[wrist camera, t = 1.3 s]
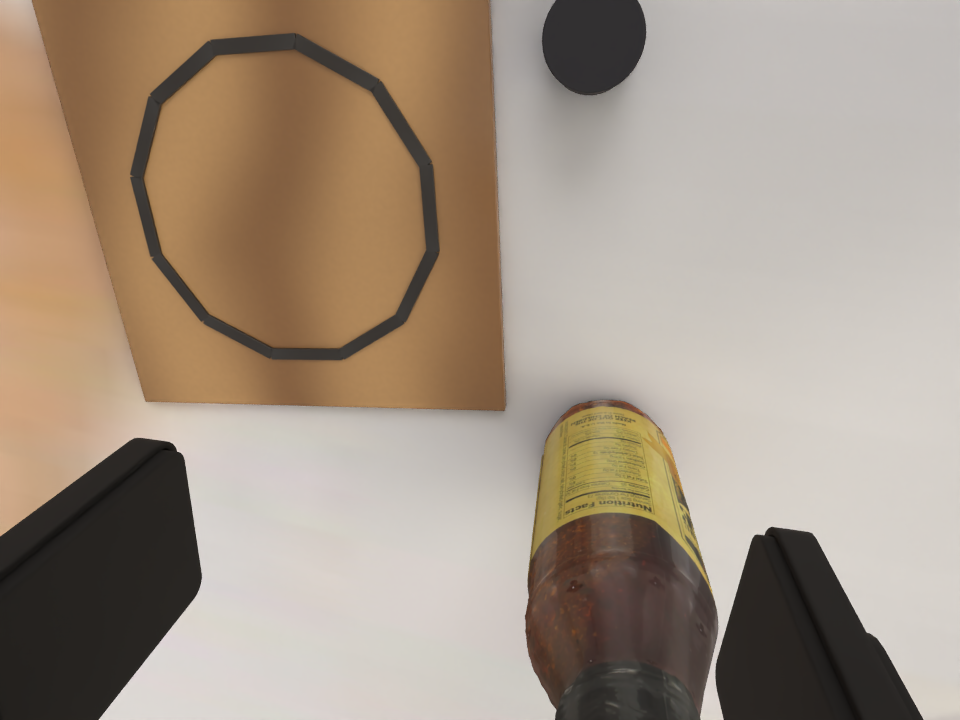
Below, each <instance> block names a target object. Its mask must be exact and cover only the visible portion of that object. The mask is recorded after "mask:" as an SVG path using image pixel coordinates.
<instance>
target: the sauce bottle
mask: <svg viewBox="0 0 960 720" xmlns="http://www.w3.org/2000/svg"><path fill="white" fill-rule="evenodd" d="M528 593H529V599H528V605H527V611H526V615H525V620H526V630H525V632H526V639H527V647H528V653H529V657H530V659H531V663H532V667H533V669H534V672H535V673H536V675H537V676H538V678H539V680H540V683H541V685H542V686H543V688H544V689H545V691H546V692H547V694H548V697H549V699H550V701H551V703H552V704H553V706H554V707H555V708H556V710H557V711H556V716H555V720H700V714H701V708H702V702H703V695H704V690H705V686H706V682H707V678H708V673H709V669H710V665H711V661H712V657H713V652H714V648H715V644H716V640H717V634H718V616H717V609H716V605H715V601H714V598H713V594H712V589H711V586H710V583H709V579H708V576H707V573H706V570H705V566H704V563H703V559H702V556H701V553H700V549H699V546H698V542H697V539H696V536H695V532H694V528H693V524H692V521H691V519H690V513H689V509H688V506H687V503H686V500H685V497H684V493H683V490H682V486H681V482H680V479H679V475H678V472H677V468H676V465H675V461H674V458H673V454H672V451H671V448H670V446H669V444H668V442H667V440H666V438H665V437H664V435H663V432H662V431H661V429H660V428H659V427H657V425H656V424H655V423H654V422H653V421H652V420H651V419H650V418H649V417H648V415H646V414H645V413H643V412H642V411H640V410H639V409H637V408H636V407H634V406H633V405H631V404H628V403H626V402H623V401H613V400H598V401H588V402H587V403H581V404H578V405H575V406H573V407H572V408H570V409H569V410H568V411H567V412H566V413H565V414H564V415H562V416H561V417H560V419H559V420H558V422H557V423H556V424H555V426H554V427H553V429H552V430H551V433H550V434H549V435H548V437H547V439H546V443H545V448H544V454H543V455H542V460H541V468H540V475H539V483H538V492H537V501H536V509H535V519H534V527H533V536H532V545H531V554H530V562H529V571H528Z"/></svg>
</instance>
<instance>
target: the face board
mask: <svg viewBox="0 0 960 720" xmlns="http://www.w3.org/2000/svg"><path fill="white" fill-rule="evenodd" d="M32 3H33V7H34V10H35V14H36V17H37V21H38V24H39V28H40V31H41V35H42V38H43V42H44V46H45V49H46V53H47V56H48V60H49V63H50V67H51V70H52V74H53V77H54V81H55V84H56V88H57V91H58V95H59V98H60V102H61V105H62V109H63V112H64V116H65V120H66V123H67V127H68V130H69V134H70V137H71V141H72V144H73V148H74V151H75V155H76V158H77V162H78V165H79V169H80V172H81V176H82V179H83V183H84V186H85V190H86V193H87V197H88V201H89V204H90V208H91V211H92V215H93V218H94V222H95V225H96V229H97V232H98V236H99V239H100V243H101V246H102V250H103V253H104V257H105V260H106V264H107V267H108V271H109V275H110V278H111V282H112V285H113V289H114V292H115V296H116V299H117V303H118V306H119V310H120V313H121V317H122V320H123V324H124V327H125V331H126V334H127V338H128V341H129V345H130V348H131V352H132V356H133V359H134V363H135V366H136V370H137V373H138V377H139V380H140V384H141V387H142V391H143V394H144V398H145V401H146V402H183V403H222V404H261V405H300V406H339V407H378V408H417V409H456V410H495V411H504V410H505V408H506V389H505V363H504V337H503V312H502V286H501V260H500V235H499V209H498V183H497V157H496V132H495V106H494V80H493V55H492V29H491V3H490V0H32Z"/></svg>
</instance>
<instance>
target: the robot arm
mask: <svg viewBox="0 0 960 720" xmlns="http://www.w3.org/2000/svg"><path fill="white" fill-rule="evenodd" d="M201 580H202V573H201V567H200V560H199V553H198V547H197V540H196V533H195V527H194V520H193V513H192V507H191V500H190V493H189V487H188V480H187V473H186V467H185V460H184V457H183V455H182V454H181V453H179V452H177V450H176V447H175V446H174V445H173V444H172V443H170V442H166V441H159V440H152V439H145V438H134V439H133V440H131V441H129V442H128V443H126V444H125V445H124V446H122V447H121V448H119V449H118V450H117V451H115V452H114V453H113V454H111V455H110V456H109V457H107V458H106V459H105V460H103V461H102V462H101V463H99V464H98V465H96V466H95V467H94V468H92V469H91V470H90V471H88V472H87V473H86V474H84V475H83V476H82V477H80V478H79V479H78V480H76V481H75V482H73V483H72V484H71V485H69V486H68V487H67V488H65V489H64V490H63V491H61V492H60V493H59V494H57V495H56V496H55V497H53V498H52V499H50V500H49V501H48V502H46V503H45V504H44V505H42V506H41V507H40V508H38V509H37V510H36V511H34V512H33V513H32V514H30V515H29V516H27V517H26V518H25V519H23V520H22V521H21V522H19V523H18V524H17V525H15V526H14V527H13V528H11V529H10V530H9V531H7V532H6V533H4V534H3V535H2V536H0V720H99V718H100V717H101V716H102V715H103V713H104V712H105V711H106V709H107V708H108V707H109V706H110V704H111V703H112V702H113V701H114V699H115V698H116V697H117V696H118V694H119V693H120V692H121V690H122V689H123V688H124V687H125V685H126V684H127V683H128V682H129V680H130V679H131V678H132V677H133V675H134V674H135V673H136V671H137V670H138V669H139V668H140V666H141V665H142V664H143V663H144V661H145V660H146V659H147V658H148V656H149V655H150V654H151V652H152V651H153V650H154V649H155V647H156V646H157V645H158V644H159V642H160V641H161V640H162V639H163V637H164V636H165V635H166V633H167V632H168V631H169V630H170V628H171V627H172V626H173V625H174V623H175V622H176V621H177V620H178V618H179V617H180V616H181V615H182V613H183V612H184V611H185V609H186V608H187V607H188V606H189V604H190V603H191V602H192V601H193V599H194V598H195V596H196V595H197V593H198V591H199V588H200V585H201ZM716 687H717V692H718V696H719V701H720V705H721V709H722V714H723V718H724V720H923V718H922V716H921V714H920V713H919V711H918V709H917V707H916V705H915V703H914V702H913V700H912V698H911V696H910V694H909V693H908V691H907V689H906V687H905V685H904V684H903V682H902V680H901V678H900V676H899V675H898V673H897V671H896V669H895V667H894V665H893V664H892V662H891V660H890V658H889V656H888V655H887V653H886V651H885V649H884V648H883V646H882V645H881V643H880V642H879V641H878V639H877V638H875V637H874V636H873V635H871V634H870V633H866V631H865V629H864V627H863V625H862V623H861V622H860V620H859V618H858V616H857V614H856V612H855V610H854V608H853V607H852V605H851V603H850V601H849V599H848V597H847V595H846V594H845V592H844V590H843V588H842V586H841V584H840V582H839V580H838V579H837V577H836V575H835V573H834V571H833V569H832V567H831V566H830V564H829V562H828V560H827V558H826V556H825V554H824V552H823V551H822V549H821V547H820V545H819V543H818V541H817V539H816V538H815V536H814V535H813V534H812V533H810V532H804V531H797V530H790V529H783V528H776V527H771V528H769V529H768V530H767V531H766V533H765V535H764V536H763V535H755V536H754V537H753V539H752V542H751V545H750V548H749V552H748V555H747V559H746V562H745V565H744V569H743V572H742V576H741V579H740V583H739V586H738V590H737V593H736V597H735V600H734V603H733V607H732V610H731V614H730V617H729V621H728V624H727V628H726V631H725V635H724V638H723V642H722V645H721V648H720V652H719V655H718V659H717V663H716Z"/></svg>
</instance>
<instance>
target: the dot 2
mask: <svg viewBox="0 0 960 720" xmlns="http://www.w3.org/2000/svg"><path fill="white" fill-rule="evenodd" d="M645 39H646V24H645V18H644V14H643V11H642V8H641V6H640V4H639V2H638V1H637V0H556V1H555V3H554V4H553V6H552V7H551V9H550V11H549V13H548V15H547V18H546V21H545V24H544V28H543V36H542V45H543V53H544V57H545V60H546V63H547V65H548V67H549V69H550V71H551V72H552V74H553V75H554V76H555V78H556V79H557V80H558V81H559V82H560V83H562V84H563V85H564V86H565V87H566V88H568V89H569V90H571V91H573V92H575V93H578V94H583V95H596V94H600V93H603V92H606V91H608V90H610V89H611V88H613V87H615V86H616V85H618V84H619V83H621V82H622V81H623V80H624V79H625V78H626V77H628V76H629V74H630V73H631V72H632V71H633V70H634V68H635V66H636V65H637V63H638V61H639V59H640V57H641V55H642V52H643V49H644V45H645Z"/></svg>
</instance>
